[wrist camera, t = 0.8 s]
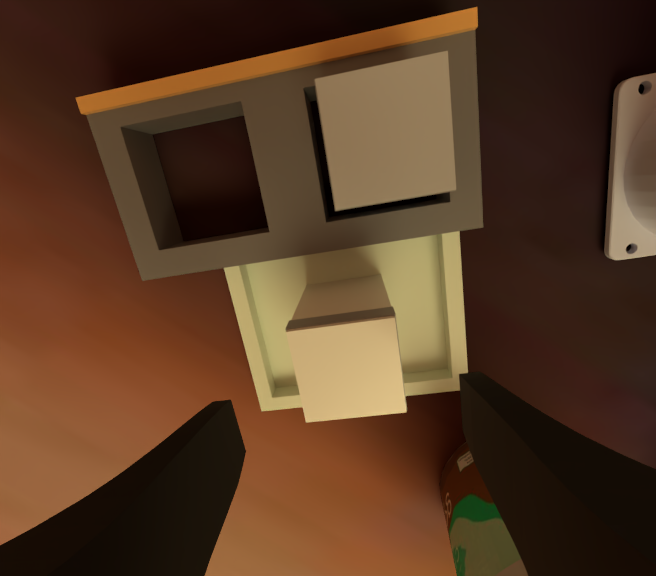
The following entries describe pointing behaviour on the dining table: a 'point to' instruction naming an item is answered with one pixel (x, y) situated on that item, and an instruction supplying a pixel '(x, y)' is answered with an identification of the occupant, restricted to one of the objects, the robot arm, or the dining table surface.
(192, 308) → the dining table surface
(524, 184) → the dining table surface
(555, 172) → the dining table surface
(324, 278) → the tray
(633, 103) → the robot arm
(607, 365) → the dining table surface
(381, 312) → the plug
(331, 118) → the beige block
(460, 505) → the food container
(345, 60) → the grey cubby shelf
